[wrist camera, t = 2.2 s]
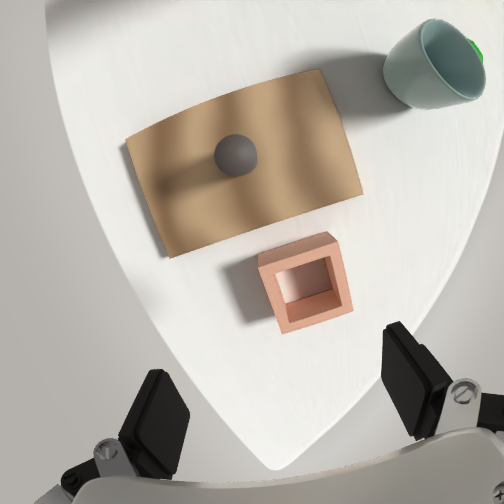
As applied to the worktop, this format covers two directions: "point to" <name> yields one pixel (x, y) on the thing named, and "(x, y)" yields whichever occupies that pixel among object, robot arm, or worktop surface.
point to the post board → (264, 192)
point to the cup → (434, 67)
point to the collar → (313, 306)
